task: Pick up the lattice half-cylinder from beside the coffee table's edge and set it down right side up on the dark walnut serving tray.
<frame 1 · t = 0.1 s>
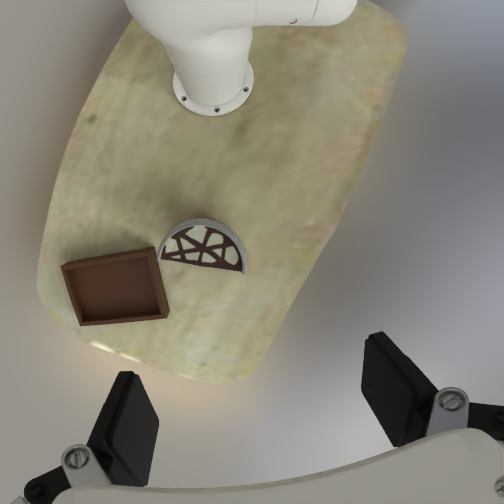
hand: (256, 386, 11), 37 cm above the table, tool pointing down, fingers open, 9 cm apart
lattice half-cylinder: (208, 230, 46), on the table
tray: (115, 286, 47), on the table
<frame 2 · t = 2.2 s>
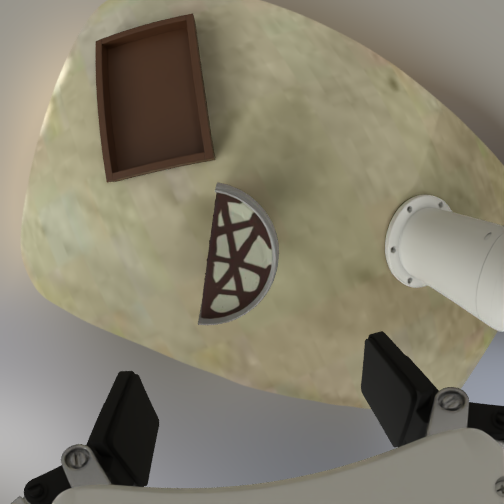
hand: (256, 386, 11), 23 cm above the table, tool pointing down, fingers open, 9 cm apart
lattice half-cylinder: (239, 239, 33), on the table
tray: (153, 96, 28), on the table
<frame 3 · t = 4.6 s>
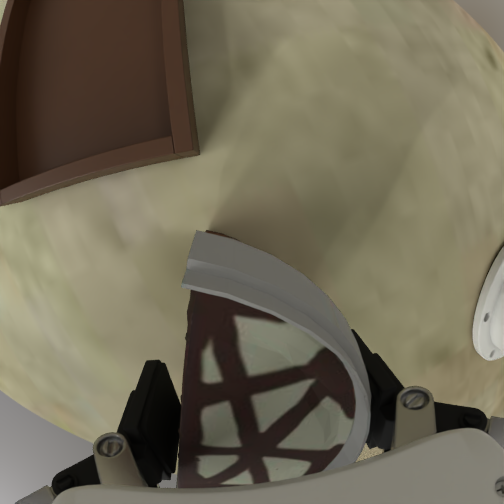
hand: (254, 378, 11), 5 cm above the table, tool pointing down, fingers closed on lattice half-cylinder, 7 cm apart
lattice half-cylinder: (249, 318, 16), on the table, touching gripper
tray: (88, 39, 11), on the table
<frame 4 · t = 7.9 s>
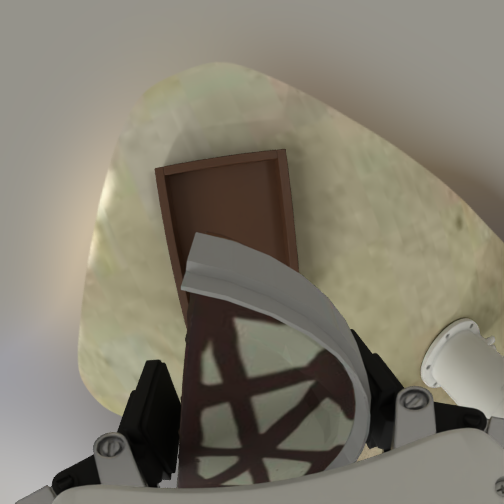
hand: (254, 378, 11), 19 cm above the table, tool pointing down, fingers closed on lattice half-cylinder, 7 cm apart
lattice half-cylinder: (249, 318, 16), point 13 cm above the table, touching gripper
tray: (233, 247, 29), on the table
when the fingers open (6 cm above the table, at t = 11.3 s): lattice half-cylinder stays where it is, resting on tray.
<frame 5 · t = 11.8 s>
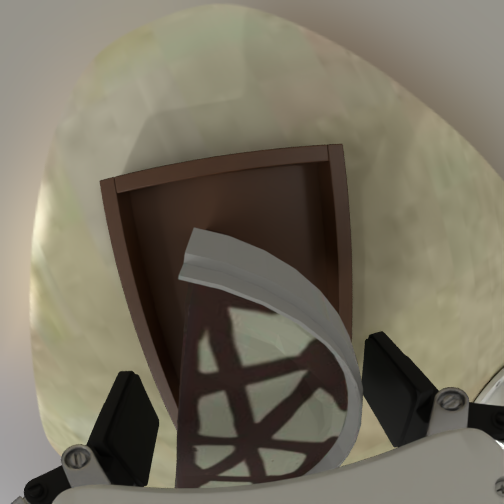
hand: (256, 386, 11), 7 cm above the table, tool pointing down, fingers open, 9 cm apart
lattice half-cylinder: (247, 315, 17), point 1 cm above the table, touching tray
tray: (243, 309, 17), on the table
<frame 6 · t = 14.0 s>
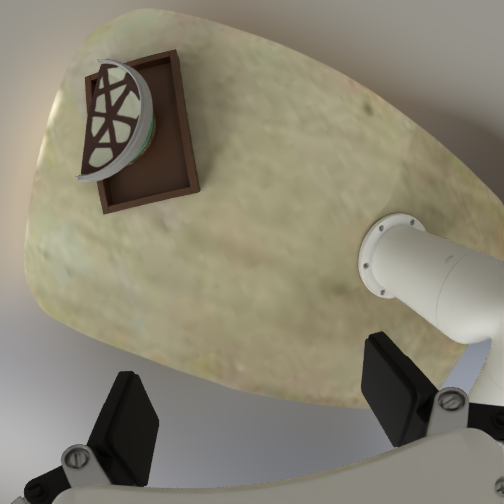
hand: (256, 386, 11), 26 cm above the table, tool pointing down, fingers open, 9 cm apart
lattice half-cylinder: (142, 131, 31), point 1 cm above the table, touching tray
tray: (141, 131, 31), on the table
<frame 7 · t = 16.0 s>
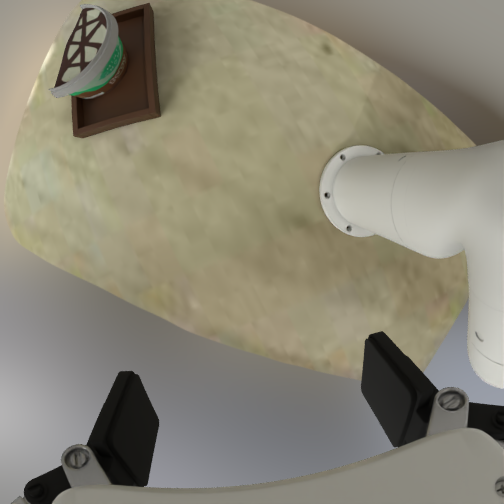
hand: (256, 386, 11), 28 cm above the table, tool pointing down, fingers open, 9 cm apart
lattice half-cylinder: (115, 68, 30), point 1 cm above the table, touching tray
tray: (115, 69, 30), on the table
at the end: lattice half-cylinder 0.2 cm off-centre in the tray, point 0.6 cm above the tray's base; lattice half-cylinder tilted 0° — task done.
